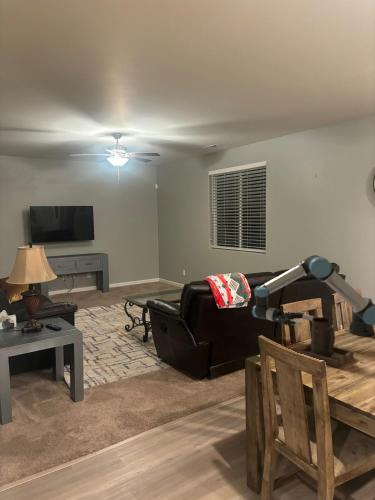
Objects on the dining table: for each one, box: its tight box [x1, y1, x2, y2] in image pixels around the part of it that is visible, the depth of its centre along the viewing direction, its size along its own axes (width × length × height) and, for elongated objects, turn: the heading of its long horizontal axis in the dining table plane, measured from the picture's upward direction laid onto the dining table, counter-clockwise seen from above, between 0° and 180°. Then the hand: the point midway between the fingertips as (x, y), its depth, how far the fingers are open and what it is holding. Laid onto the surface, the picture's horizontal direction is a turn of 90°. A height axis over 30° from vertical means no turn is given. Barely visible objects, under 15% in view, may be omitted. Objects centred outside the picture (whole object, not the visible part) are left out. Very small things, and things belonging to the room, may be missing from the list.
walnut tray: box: [297, 343, 354, 369], centre depth 201 cm, size 18×22×4 cm
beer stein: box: [310, 316, 336, 357], centre depth 200 cm, size 15×11×20 cm
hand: (307, 321), depth 209 cm, fingers open, 13 cm apart
